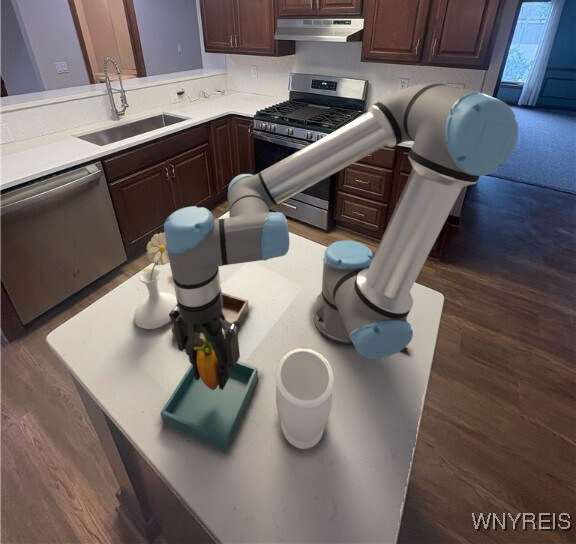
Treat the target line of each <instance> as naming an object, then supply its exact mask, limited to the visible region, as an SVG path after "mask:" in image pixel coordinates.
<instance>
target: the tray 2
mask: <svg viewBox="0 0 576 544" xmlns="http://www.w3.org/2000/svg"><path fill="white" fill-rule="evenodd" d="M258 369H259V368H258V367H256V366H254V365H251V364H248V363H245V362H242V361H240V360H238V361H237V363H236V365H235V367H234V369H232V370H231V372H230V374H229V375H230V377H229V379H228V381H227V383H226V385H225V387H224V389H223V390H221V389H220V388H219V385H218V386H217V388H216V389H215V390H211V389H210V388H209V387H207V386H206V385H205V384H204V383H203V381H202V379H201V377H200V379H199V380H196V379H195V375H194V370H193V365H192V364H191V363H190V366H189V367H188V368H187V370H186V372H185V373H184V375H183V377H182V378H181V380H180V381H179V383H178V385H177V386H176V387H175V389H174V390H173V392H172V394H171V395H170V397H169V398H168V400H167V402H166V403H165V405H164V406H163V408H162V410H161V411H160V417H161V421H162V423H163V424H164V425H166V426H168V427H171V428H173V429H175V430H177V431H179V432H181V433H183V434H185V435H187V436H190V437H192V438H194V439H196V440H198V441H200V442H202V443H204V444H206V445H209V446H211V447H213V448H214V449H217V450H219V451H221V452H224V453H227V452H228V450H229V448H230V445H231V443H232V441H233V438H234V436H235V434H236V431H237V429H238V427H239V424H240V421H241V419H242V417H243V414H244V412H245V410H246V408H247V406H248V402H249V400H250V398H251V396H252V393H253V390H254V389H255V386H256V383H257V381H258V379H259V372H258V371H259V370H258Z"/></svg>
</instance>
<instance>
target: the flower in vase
mask: <svg viewBox="0 0 576 544" xmlns="http://www.w3.org/2000/svg"><path fill="white" fill-rule="evenodd" d="M146 250H147V251H146V255H147V260H148V261H149V262H150V263H151V264H153V266H152V268H144V269H142V270H140V272H142V273H141V274H140V275H139V279H138V280H139V281H140V282H141V283H143V284H144V285H145V286H146V288H147V292H148V296H147V297H145V298H144V299H143V300H142V301H140V303H139V304H138V305H137V307H136V309H135V310H134V311H135V312H134V314H133V320H134V322H135V324H136V326H138V327H139V328H142V329H145V330H156V329H159V328H162V327H164V326H166V325H168V324H169V323H170V322H172V320H171V318H170V316H169V313H170V312H171V311H172V310H173V308H174V307H175V306H176V305H177V299H176V295H175V294H173V293H171V292H165V291H160V292H159V288H158V280H159V279H160V277H161V271H160V269H158V268H155V267H157V266H164V265H167V264H170V262H169V257H168V253H167V250H166V239H165V231H164V232H160V233H155V234H153V236H152V237H151V239H150V241H148V242H147V245H146Z"/></svg>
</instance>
